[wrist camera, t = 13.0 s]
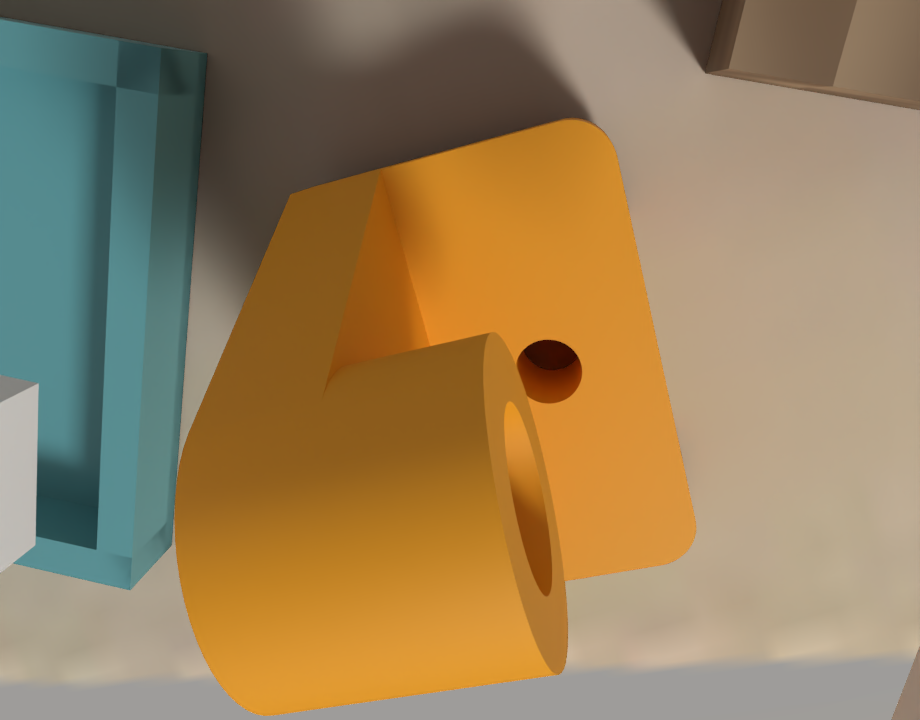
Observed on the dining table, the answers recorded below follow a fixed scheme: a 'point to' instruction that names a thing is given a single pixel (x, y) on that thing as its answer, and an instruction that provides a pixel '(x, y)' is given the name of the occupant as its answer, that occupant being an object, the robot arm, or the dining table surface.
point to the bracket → (429, 430)
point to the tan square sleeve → (823, 47)
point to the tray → (98, 283)
